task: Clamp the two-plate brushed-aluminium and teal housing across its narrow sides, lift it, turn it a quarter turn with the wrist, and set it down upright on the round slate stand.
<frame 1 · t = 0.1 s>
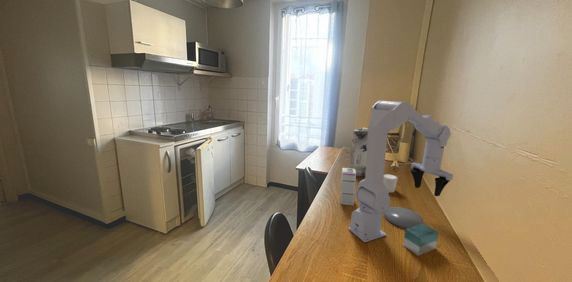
hand: (426, 191, 86), 10 cm above the worktop, fingers open, 7 cm apart
slate stand: (402, 218, 85), on the worktop
juice carton: (357, 174, 131), on the worktop
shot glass: (388, 190, 110), on the worktop
housing: (419, 247, 70), on the worktop
syrup box: (346, 202, 97), on the worktop
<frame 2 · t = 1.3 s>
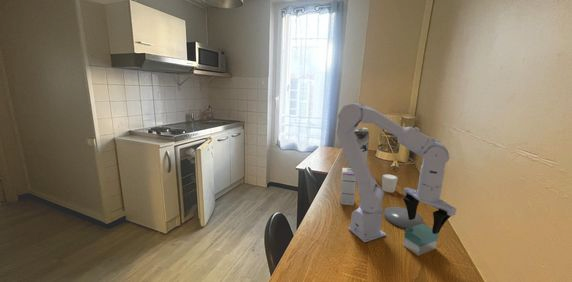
hand: (423, 225, 68), 7 cm above the worktop, fingers open, 7 cm apart
nothing on the worktop moved.
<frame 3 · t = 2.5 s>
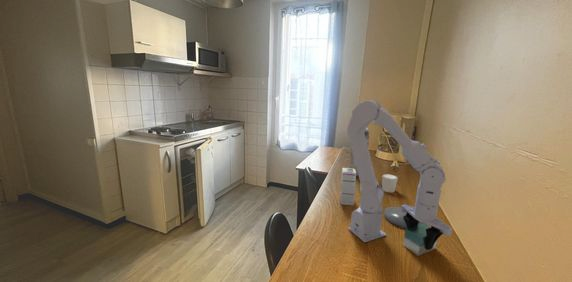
hand: (419, 242, 70), 1 cm above the worktop, fingers closed on housing, 5 cm apart
housing: (419, 246, 70), on the worktop, touching gripper
everything else where it was.
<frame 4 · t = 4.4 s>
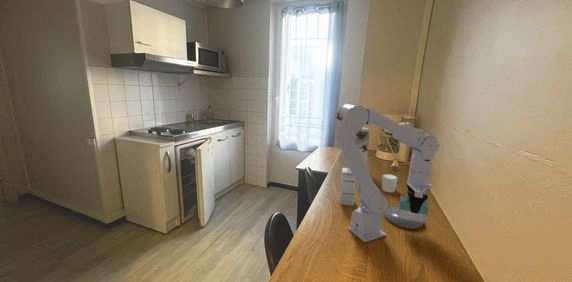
hand: (413, 208, 76), 8 cm above the worktop, fingers closed on housing, 5 cm apart
housing: (411, 216, 77), point 5 cm above the worktop, touching gripper
everything else where it was.
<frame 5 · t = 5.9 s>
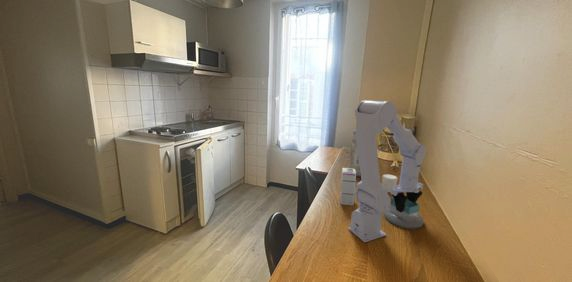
hand: (404, 209, 84), 4 cm above the worktop, fingers closed on housing, 5 cm apart
housing: (402, 215, 85), point 1 cm above the worktop, touching gripper, slate stand
everything else where it was.
when the fingers open (4 cm above the worktop, at t = 6.8 s): housing stays where it is, resting on slate stand.
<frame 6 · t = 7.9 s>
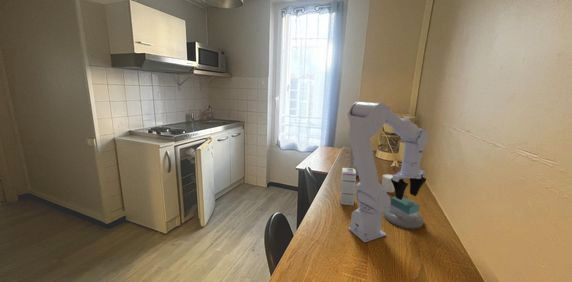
hand: (406, 196, 83), 9 cm above the worktop, fingers open, 7 cm apart
housing: (402, 215, 85), point 1 cm above the worktop, touching slate stand
everything else where it was.
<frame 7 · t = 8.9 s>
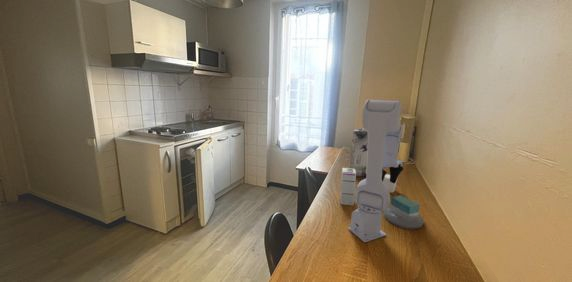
hand: (386, 183, 94), 9 cm above the worktop, fingers open, 7 cm apart
nothing on the worktop moved.
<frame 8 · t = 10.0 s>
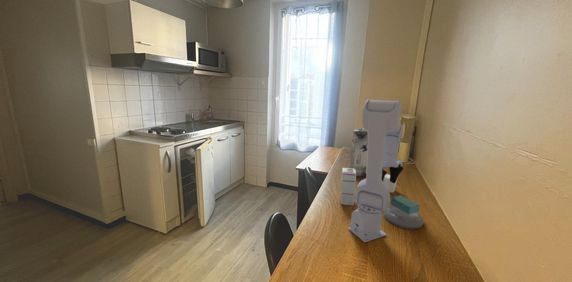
hand: (386, 183, 94), 9 cm above the worktop, fingers open, 7 cm apart
nothing on the worktop moved.
at the end: housing 0.2 cm off-centre on the slate stand, point 1.5 cm above the slate stand's base; housing tilted 0°; the gripper is holding nothing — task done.
